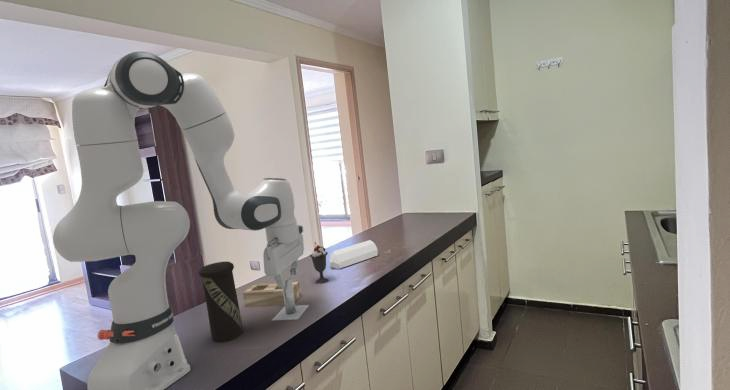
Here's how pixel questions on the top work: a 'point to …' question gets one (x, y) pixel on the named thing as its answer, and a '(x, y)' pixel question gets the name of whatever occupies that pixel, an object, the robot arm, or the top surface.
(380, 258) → the top surface
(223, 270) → the container
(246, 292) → the socket block
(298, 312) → the mat
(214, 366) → the top surface
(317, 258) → the sundae
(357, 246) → the crystal
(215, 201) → the robot arm
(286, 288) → the peg
